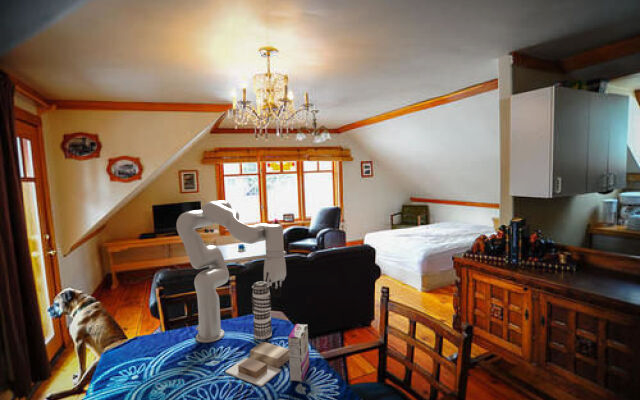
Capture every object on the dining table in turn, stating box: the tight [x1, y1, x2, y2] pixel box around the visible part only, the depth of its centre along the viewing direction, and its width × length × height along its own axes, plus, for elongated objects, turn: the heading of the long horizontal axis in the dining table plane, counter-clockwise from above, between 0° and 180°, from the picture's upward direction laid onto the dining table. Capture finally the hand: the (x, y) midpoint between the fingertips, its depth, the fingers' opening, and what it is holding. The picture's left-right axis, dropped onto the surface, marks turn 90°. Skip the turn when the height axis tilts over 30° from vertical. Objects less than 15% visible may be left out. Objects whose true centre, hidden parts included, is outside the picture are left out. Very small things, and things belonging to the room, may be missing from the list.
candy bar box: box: [287, 323, 310, 383], centre depth 124 cm, size 11×5×16 cm, turn 168°
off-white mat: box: [225, 357, 282, 388], centre depth 126 cm, size 18×11×1 cm, turn 59°
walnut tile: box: [238, 357, 267, 379], centre depth 125 cm, size 9×6×2 cm, turn 59°
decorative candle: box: [250, 280, 273, 340], centre depth 155 cm, size 9×9×25 cm
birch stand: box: [249, 341, 289, 369], centre depth 134 cm, size 14×8×4 cm, turn 59°
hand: (276, 296), depth 141 cm, fingers closed
